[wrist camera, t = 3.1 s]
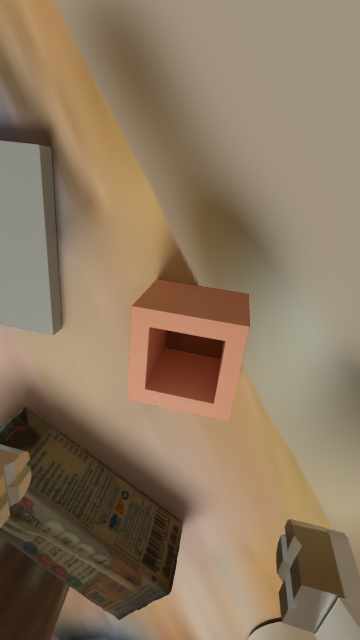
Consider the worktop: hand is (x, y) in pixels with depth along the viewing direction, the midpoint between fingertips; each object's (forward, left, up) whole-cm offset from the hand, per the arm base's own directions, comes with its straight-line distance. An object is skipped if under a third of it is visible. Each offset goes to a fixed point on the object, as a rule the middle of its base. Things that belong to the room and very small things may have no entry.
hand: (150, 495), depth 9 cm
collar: (0, 0, -13) cm, 13 cm away
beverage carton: (+9, +19, -13) cm, 25 cm away
